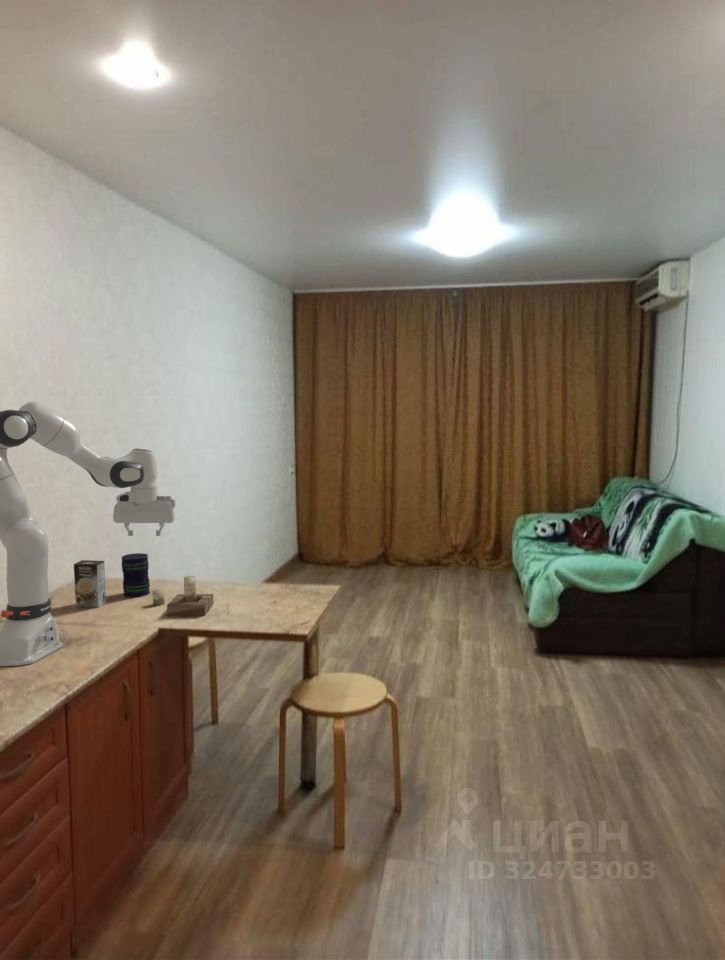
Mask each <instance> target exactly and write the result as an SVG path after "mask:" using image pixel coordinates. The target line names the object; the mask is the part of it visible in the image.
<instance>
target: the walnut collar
mask: <svg viewBox="0 0 725 960" xmlns="http://www.w3.org/2000/svg"><path fill="white" fill-rule="evenodd" d="M196 601H197V602H185V594H184V593H183V594H181V593H177V594H176V595H175V596H174V597H173V598H172V599H171V600H170V601H169V602H168V603H167V604H166V611H167V612H166V613H167V617H192V616H193V617H200V616H201V615H202V616H206V615H207V614H208V612H209V611H210V610H211V609H212V607H213V606H214V605H213V604H215V602H214V593H196ZM212 605H213V606H212ZM210 608H211V609H210ZM209 609H210V610H209ZM206 613H207V614H206ZM202 616H201V617H202Z"/></svg>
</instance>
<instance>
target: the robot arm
mask: <svg viewBox="0 0 725 960" xmlns="http://www.w3.org/2000/svg"><path fill="white" fill-rule="evenodd" d="M29 439H31V440H33V441H35V442H36V443H37V444H38V445H40V446H42V447H44V449H47V450H49V451H51V452H53V453H56V454H58V455H60V456H62V457H66V458H68V459H69V460H71V462H74V463H75V464H76V465H78V466H80V467H81V468H83V470H86V472H87V473H88V474H89V476H90V477H91V478H92V480H93V482H95V483H96V484H97V485H98V486H101V487H106V488H108V487H111V488H115V489H125V488H126V489H127V488H130V490H129V491H126V492H124V493H120V494H118V495H116V497H115V499H116V503H115V504H114V508H113V513H112V514H113V516H112V519H113V522H114V523H115V524H123V525H124V527H125V529H126V531H127V537H133V536H134V530H133V529H131V528H130V525H131V524H158V526H159V529H156V530H155V536H156V537H161V536H162V530H163V528H164V527H165V524H171V523H173V522H175V519H176V515H175V507H176V499H175V498H174V497H172V496H171V495H166V496H165V495H164V496H163V495H158V484H157V477H158V461H157V457H156V454H155V452H154V451H152V450H148V449H142V448H133V449H132V450H131V451H130V452H128V454H125V455H124V456H121V457H119V458H111V457H106V456H101V455H99V454H97V453H95V452H94V451H93V450H91V449H90V448H88V447H87V446H86V445H84V444H83V443H82V442H81V431H80V429H79V428H78V427H77V426H76V424H74V422H72V421H71V420H69V419H68V418H66V417H65V416H64V415H62V414H61V413H59V412H57V411H55V409H52V408H50V407H48V406H46V405H43V404H41V403H39V402H35V401H28V402H27V403H25V404H23V405H22V406H21V407H20V408H19V409H18V410H15V409H6V410H0V541H1V542H0V543H1V544H2V546H3V547H4V548H5V549H6V577H5V578H6V590H7V592H6V593H7V604H6V609H5V610H4V609H2V610H1V612H0V617H1V618H5V620H4V622H3V624H2V626H1V628H0V667H11V666H12V667H13V666H14V667H15V666H25V665H30V664H33V663H35V662H38V661H39V660H40V659H41V660H42V659H43V658H45V657H46V656H48V655H50V654H52V653H54V652H56V651H57V650H59V649H61V648H63V647H64V642H62V641H60V637H59V632H58V624H57V621H56V618H55V617H54V616H53V615H52V613H51V612H52V602H51V599H50V597H49V582H48V581H49V580H48V579H49V578H48V566H49V536H48V533H47V532H46V530H45V529H44V528H43V527H42V526H41V525H39V523H38V522H37V520H36V519H35V515H34V514H33V511H32V510H31V507H30V504H29V502H28V499H27V497H26V494H25V493H24V491H23V488H22V486H21V484H20V482H19V480H18V478H17V477H16V475H15V472H14V471H13V469H12V466H10V464H9V461H8V460H9V459H8V449H10V448H14V447H16V448H17V447H19V446H21V445H23V444H25V443H26V442H27V441H28V440H29Z"/></svg>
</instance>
